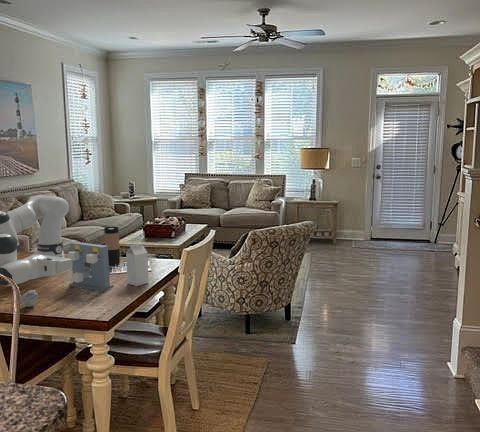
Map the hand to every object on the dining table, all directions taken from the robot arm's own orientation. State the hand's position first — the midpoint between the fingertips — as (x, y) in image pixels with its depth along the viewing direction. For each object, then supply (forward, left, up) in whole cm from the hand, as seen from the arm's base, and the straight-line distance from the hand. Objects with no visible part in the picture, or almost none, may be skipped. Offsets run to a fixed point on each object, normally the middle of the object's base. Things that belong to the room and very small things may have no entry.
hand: (63, 257), depth 198 cm
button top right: (+1, +19, -6) cm, 20 cm away
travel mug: (-23, +54, -19) cm, 62 cm away
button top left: (-10, +19, -6) cm, 22 cm away
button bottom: (-5, +15, -14) cm, 21 cm away
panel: (-5, +19, -19) cm, 27 cm away
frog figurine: (-8, -12, -19) cm, 24 cm away
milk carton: (+12, +32, -19) cm, 39 cm away
